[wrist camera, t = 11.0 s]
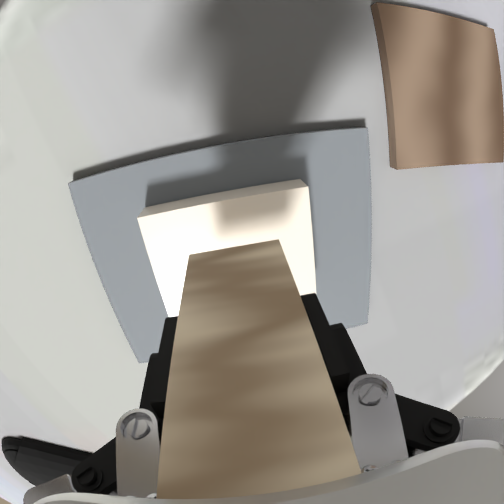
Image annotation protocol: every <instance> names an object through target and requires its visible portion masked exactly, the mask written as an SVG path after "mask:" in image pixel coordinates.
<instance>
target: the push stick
mask: <svg viewBox="0 0 504 504" xmlns="http://www.w3.org/2000/svg"><path fill="white" fill-rule="evenodd" d="M358 474H361V470H360V467H359V463H358V460H357V457H356V454H355V451H354V448H353V445H352V442H351V439H350V436H349V433H348V430H347V427H346V424H345V421H344V418H343V415H342V412H341V409H340V406H339V403H338V400H337V397H336V394H335V391H334V389H333V386H332V383H331V380H330V377H329V374H328V371H327V369H326V366H325V363H324V360H323V357H322V354H321V352H320V349H319V346H318V343H317V340H316V338H315V335H314V332H313V329H312V327H311V324H310V321H309V318H308V316H307V313H306V310H305V307H304V305H303V302H302V299H301V297H300V294H299V291H298V289H297V286H296V283H295V281H294V278H293V275H292V273H291V270H290V267H289V265H288V262H287V259H286V257H285V254H284V252H283V249H282V246H281V244H280V241H279V239H277V240H271V241H265V242H259V243H254V244H248V245H242V246H236V247H230V248H224V249H219V250H213V251H207V252H201V253H196V254H190V255H189V258H188V263H187V268H186V274H185V279H184V285H183V290H182V296H181V302H180V307H179V313H178V319H177V325H176V332H175V338H174V345H173V351H172V358H171V365H170V372H169V379H168V387H167V395H166V403H165V411H164V420H163V429H162V438H161V448H160V459H159V471H158V483H157V497H156V499H211V498H228V497H240V496H250V495H259V494H267V493H274V492H281V491H287V490H293V489H298V488H303V487H308V486H313V485H318V484H323V483H327V482H331V481H335V480H339V479H343V478H347V477H351V476H354V475H358Z"/></svg>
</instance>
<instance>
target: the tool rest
mask: <svg viewBox="0 0 504 504" xmlns="http://www.w3.org/2000/svg"><path fill="white" fill-rule="evenodd" d="M371 10H372V14H373V19H374V24H375V30H376V35H377V41H378V47H379V53H380V59H381V66H382V74H383V81H384V90H385V99H386V109H387V121H388V135H389V153H390V167H392V168H394V169H396V170H398V169H409V168H420V167H432V166H445V165H459V164H476V163H497V162H503V160H504V112H503V94H502V83H501V73H500V65H499V57H498V51H497V45H496V39H495V33H494V29H491V28H488V27H485V26H482V25H479V24H476V23H473V22H470V21H466V20H463V19H459V18H456V17H452V16H448V15H444V14H440V13H436V12H431V11H427V10H422V9H417V8H412V7H406V6H400V5H393V4H386V3H379V2H377V3H375V4H373V5H371Z"/></svg>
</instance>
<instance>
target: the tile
mask: <svg viewBox="0 0 504 504" xmlns="http://www.w3.org/2000/svg"><path fill="white" fill-rule="evenodd" d="M137 219H138V223H139V226H140V230H141V233H142V236H143V240H144V243H145V246H146V250H147V253H148V256H149V259H150V262H151V265H152V268H153V271H154V275H155V278H156V281H157V283H158V286H159V289H160V292H161V295H162V298H163V301H164V304H165V307H166V309H167V312H168V315H169V317H173V316H178V313H179V307H180V302H181V296H182V290H183V285H184V279H185V274H186V268H187V263H188V258H189V255H190V254H196V253H201V252H207V251H213V250H219V249H224V248H230V247H236V246H242V245H248V244H254V243H259V242H265V241H271V240H277V239H279V241H280V244H281V246H282V249H283V252H284V254H285V257H286V259H287V262H288V265H289V267H290V270H291V273H292V275H293V278H294V281H295V283H296V286H297V289H298V291H299V294H300V296H301V295H305V294H311V293H316V279H315V262H314V248H313V234H312V222H311V210H310V199H309V189H308V186H307V185H306V184H305V183H304V182H303V181H302V180H301V179H296V180H289V181H283V182H276V183H270V184H264V185H258V186H252V187H246V188H240V189H234V190H229V191H223V192H218V193H213V194H207V195H202V196H197V197H192V198H187V199H182V200H177V201H172V202H167V203H163V204H158V205H154V206H149V207H144V209H143V210H142V212H141V213H140V215H139V216H138V218H137Z"/></svg>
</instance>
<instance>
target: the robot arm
mask: <svg viewBox="0 0 504 504" xmlns="http://www.w3.org/2000/svg"><path fill="white" fill-rule="evenodd" d="M300 297H301V299H302V302H303V305H304V307H305V310H306V313H307V316H308V318H309V321H310V324H311V327H312V329H313V332H314V335H315V338H316V340H317V343H318V346H319V349H320V352H321V354H322V357H323V360H324V363H325V366H326V369H327V371H328V374H329V377H330V380H331V383H332V386H333V389H334V391H335V394H336V397H337V400H338V403H339V406H340V409H341V412H342V415H343V418H344V421H345V424H346V427H347V430H348V433H349V436H350V439H351V442H352V445H353V448H354V451H355V454H356V457H357V460H358V463H359V467H360V470H361V474H358V475H354V476H351V477H347V478H343V479H339V480H335V481H331V482H327V483H323V484H318V485H313V486H308V487H303V488H298V489H293V490H287V491H281V492H274V493H267V494H259V495H250V496H240V497H228V498H211V499H156V497H157V483H158V471H159V459H160V448H161V438H162V429H163V420H164V411H165V403H166V395H167V387H168V379H169V372H170V365H171V358H172V351H173V345H174V338H175V332H176V325H177V319H178V316H173V317H166V319H165V322H164V327H163V332H162V337H161V341H160V346H159V351H158V353H152V354H151V355H150V358H149V363H148V367H147V372H146V377H145V382H144V387H143V392H142V397H141V402H140V407H139V409H133V410H130V411H128V412H126V413H125V414H124V415H123V416H122V417H121V418H120V419H119V421H118V423H117V426H116V437H115V438H114V439H112V440H111V441H110V442H108V443H107V444H106V445H104V446H103V447H102V448H100V449H99V450H97V451H96V452H95V453H93V454H92V455H91V456H89V457H88V458H86V459H85V460H84V461H82V462H81V463H79V464H78V465H77V466H76V467H75V469H74V470H73V472H72V475H70V476H69V475H68V474H65V475H63V476H60V477H58V478H55V479H53V480H51V481H48V482H46V483H43V484H41V485H38V486H35V487H33V488H31V489H29V490H28V491H27V492H26V493H25V495H24V499H23V502H24V504H504V419H501V418H481V417H468V416H464V417H463V419H458V418H457V417H456V416H455V415H454V414H452V413H451V412H449V411H447V410H444V409H440V408H437V407H434V406H431V405H428V404H424V403H421V402H418V401H415V400H412V399H409V398H406V397H403V396H400V395H397V394H395V393H394V389H393V386H392V384H391V382H390V381H389V380H388V379H387V378H385V377H383V376H381V375H377V374H367V373H366V371H365V369H364V367H363V364H362V362H361V360H360V358H359V356H358V354H357V352H356V350H355V347H354V345H353V343H352V341H351V339H350V337H349V335H348V333H347V331H346V329H345V327H344V325H343V324H342V323H338V324H333V325H329V322H328V320H327V318H326V315H325V313H324V311H323V309H322V306H321V304H320V302H319V300H318V297H317V295H316V293H311V294H305V295H301V296H300Z"/></svg>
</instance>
